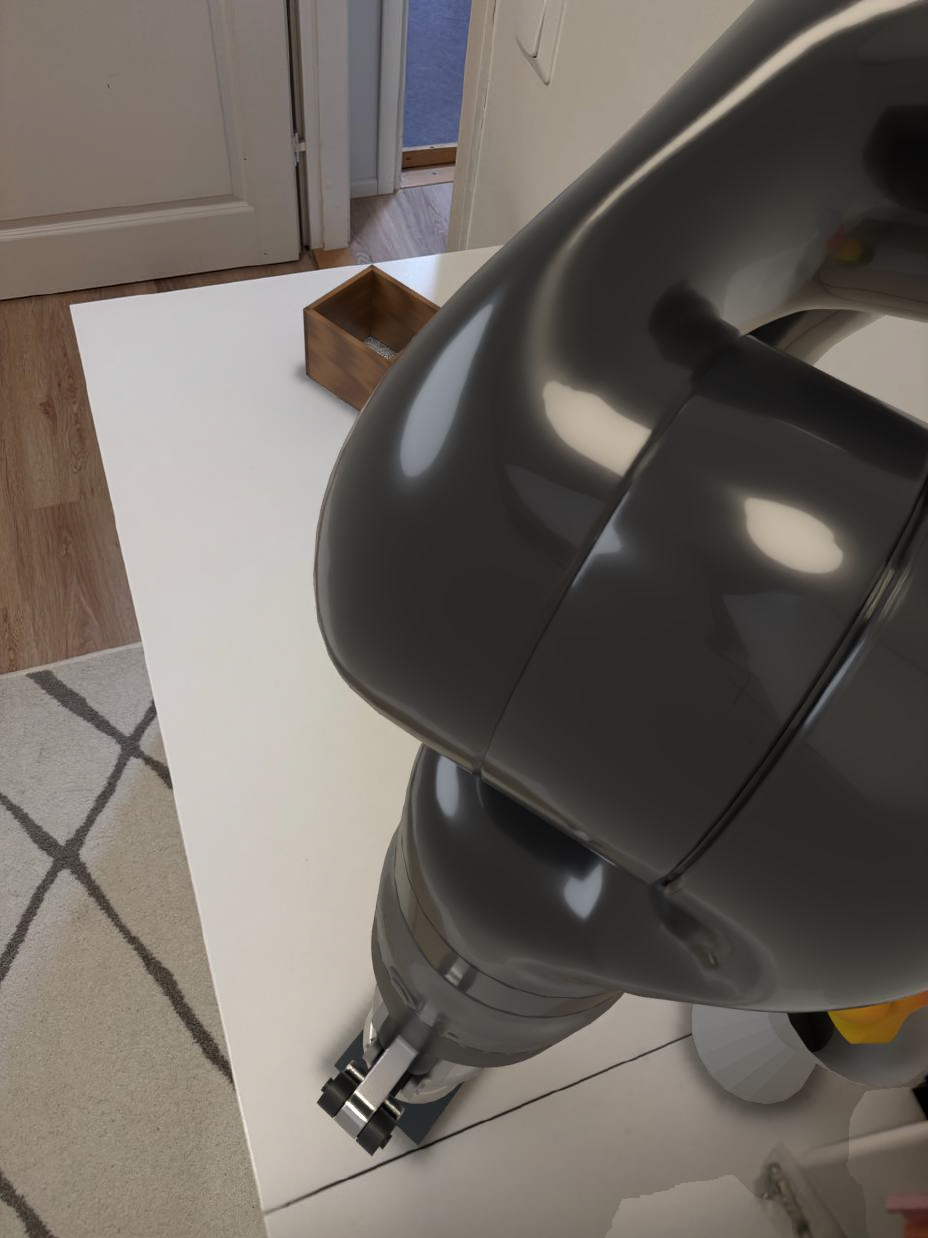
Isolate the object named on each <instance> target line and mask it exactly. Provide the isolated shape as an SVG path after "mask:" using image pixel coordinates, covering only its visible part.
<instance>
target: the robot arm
mask: <svg viewBox="0 0 928 1238" xmlns="http://www.w3.org/2000/svg"><path fill="white" fill-rule="evenodd" d="M440 307H441V308H440V309H439V310H438V311H437V312H436V314H435V315H434V316H433V317H432V318H431V319H430V320H429V321H428V322H427V323H426V324H425V325H424V326H423V327H422V329H421V330H420V331H419V332H418V333H417V334H416V335H415V336H414V337H413V338H412V339H411V341H410V342H409V343H408V345H407V346H406V347H405V348H404V350H403V351H402V352H401V354H400V355H399V356H398V357H397V359H396V360H395V361H394V363H393V364H392V365H391V367H390V368H389V369H388V371H387V372H386V374H385V375H384V376H383V378H382V379H381V381H380V382H379V384H378V385H377V386H376V388H375V389H374V391H373V392H372V394H371V395H370V397H369V398H368V400H367V402H366V403H365V405H364V406H363V408H362V409H361V411H358V414H357V416H356V418H355V420H354V422H353V423H352V425H351V427H350V428H349V431H348V433H347V435H346V437H345V439H344V440H343V442H342V445H341V447H340V450H339V452H338V454H337V457H336V459H335V462H334V464H333V467H332V470H331V472H330V475H329V478H328V480H327V484H326V488H325V491H324V494H323V498H322V501H321V506H320V510H319V515H318V520H317V524H316V525H317V526H316V529H315V541H314V542H315V543H314V556H313V557H314V558H313V571H312V572H313V573H312V580H313V593H314V602H315V603H314V604H315V612H316V621H317V625H318V627H319V631H320V634H321V637H322V640H323V643H324V646H325V649H326V652H327V656H328V657H329V659H330V661H331V662H332V664H333V666H334V668H335V670H336V671H337V673H338V675H339V676H340V677H341V679H342V680H343V682H345V684H346V685H347V687H348V688H349V689H351V690H352V691H353V692H354V693H355V694H356V695H357V696H358V697H360V699H362V700H363V701H364V702H365V703H366V704H367V705H369V706H370V708H372V710H374V711H375V712H376V713H378V714H379V715H380V716H382V717H383V718H384V719H386V720H388V721H389V722H391V723H392V724H393V725H395V726H396V727H398V728H399V729H401V730H402V731H404V732H405V733H407V734H409V735H410V736H412V737H413V738H414V739H416V740H418V741H419V742H421V743H420V745H419V747H418V750H417V752H416V755H415V756H414V757H415V758H414V761H413V763H412V767H411V770H410V775H409V778H408V782H407V786H406V790H405V797H404V803H403V807H402V812H401V816H400V821H399V823H398V825H397V827H396V829H395V831H394V833H393V834H392V836H391V839H390V841H389V844H388V847H387V850H386V853H385V856H384V860H383V863H382V864H383V865H382V868H381V872H380V878H379V884H378V891H377V897H376V903H375V911H374V915H373V920H372V921H373V922H372V928H371V936H370V940H371V941H370V952H371V953H370V954H371V963H372V969H373V974H374V978H375V982H376V983H377V985H378V988H379V991H380V994H381V996H382V999H383V1002H382V1003H381V1005H380V1006H379V1008H378V1009H377V1011H376V1013H375V1014H374V1016H373V1017H372V1020H371V1022H372V1026H373V1028H374V1029H375V1031H376V1037H374V1036H373V1037H372V1038H371V1039H370V1041H369V1042H368V1043H367V1045H366V1046H365V1047H366V1048H367V1050H366V1052H365V1053H364V1055H363V1056H362V1058H363V1059H364V1060H365V1061H366V1062H367V1063H368V1064H370V1065H371V1066H370V1068H369V1069H368V1070H367V1071H365V1070H364V1069H363V1068H362V1067H361V1066H360V1065H359V1064H357V1063H356V1062H355V1061H354V1060H352V1061H351V1062H350V1063H349V1064H348V1065H347V1067H346V1068H345V1070H344V1071H341V1072H340V1071H339V1073H338V1074H337V1075H336V1077H335V1078H333V1077H329V1078H328V1079H327V1081H326V1082H325V1083H324V1085H323V1086H322V1087H321V1089H320V1092H321V1093H322V1094H321V1096H320V1097H319V1098H318V1100H317V1101H316V1104H317V1105H318V1106H319V1107H320V1108H321V1109H322V1110H323V1111H324V1112H325V1114H327V1115H328V1116H329V1117H330V1118H331V1119H333V1121H334V1122H335V1123H336V1124H337V1125H339V1127H341V1129H342V1130H344V1132H346V1133H347V1134H348V1135H349V1136H350V1137H351V1138H352V1139H353V1140H355V1142H356V1144H358V1145H359V1146H360V1147H361V1148H362V1149H363V1150H364V1151H365V1152H366V1153H367V1154H368V1155H369V1156H370V1157H373V1156H374V1154H375V1153H376V1152H377V1151H378V1149H379V1148H380V1149H381V1150H382V1151H383V1150H384V1149H385V1147H386V1146H387V1145H388V1143H389V1142H390V1141H391V1139H392V1138H393V1135H392V1133H393V1131H394V1130H395V1129H396V1127H397V1126H396V1122H397V1120H398V1119H399V1118H400V1116H401V1115H402V1114H403V1112H404V1111H405V1108H404V1107H403V1106H402V1105H401V1104H400V1103H399V1102H398V1101H397V1100H396V1099H395V1096H396V1095H397V1094H398V1092H399V1091H400V1090H401V1092H400V1093H401V1094H402V1095H403V1096H404V1097H405V1098H406V1099H407V1100H408V1101H409V1100H410V1099H411V1098H412V1096H413V1095H414V1094H416V1095H417V1096H418V1095H419V1093H420V1092H421V1091H422V1089H423V1088H424V1086H425V1085H426V1084H425V1083H423V1082H424V1081H425V1080H429V1081H431V1082H434V1083H441V1082H442V1081H443V1079H444V1078H445V1077H446V1076H447V1074H448V1073H449V1072H450V1071H451V1069H452V1068H453V1067H454V1066H455V1064H460V1065H465V1066H471V1067H480V1068H484V1069H493V1068H502V1067H503V1068H504V1067H507V1066H512V1065H516V1064H519V1063H522V1062H523V1063H524V1062H525V1061H528V1060H529V1059H532V1058H534V1057H536V1056H538V1055H540V1054H541V1053H544V1052H545V1051H547V1050H548V1049H550V1048H552V1047H554V1046H555V1045H557V1044H559V1043H560V1042H562V1041H563V1040H565V1039H567V1038H569V1037H570V1036H573V1035H574V1034H575V1033H577V1032H579V1031H581V1030H583V1029H584V1028H586V1027H588V1026H590V1025H591V1024H593V1023H594V1022H595V1021H596V1020H598V1019H599V1018H600V1017H601V1016H603V1015H604V1014H606V1013H607V1012H608V1011H609V1010H611V1008H612V1007H614V1005H615V1004H616V1003H617V1002H619V1000H621V998H622V997H623V995H624V994H629V995H632V996H636V997H641V998H644V999H645V998H647V999H654V1000H662V1001H671V1002H677V1003H685V1004H692V1005H694V1004H699V1005H706V1006H714V1007H721V1008H729V1009H737V1010H746V1011H755V1012H771V1013H806V1012H826V1011H840V1010H848V1009H857V1008H865V1007H870V1006H875V1005H879V1004H884V1003H889V1002H893V1001H896V1000H900V999H903V998H907V997H910V996H913V995H917V994H919V993H922V992H925V991H927V990H928V421H927V422H926V421H925V420H923V419H921V418H919V417H916V416H914V415H912V414H910V413H908V412H907V411H905V410H902V409H901V408H899V407H896V406H894V405H892V404H890V403H888V402H886V401H884V400H882V399H880V398H879V397H876V396H874V395H872V394H870V393H868V392H866V391H864V390H862V389H860V388H858V387H857V386H854V385H852V384H851V383H848V382H846V381H843V380H841V379H840V378H838V377H835V376H834V375H832V374H830V373H828V372H826V371H824V370H821V369H819V368H817V367H815V365H816V364H817V363H818V361H819V360H820V359H821V358H822V357H823V356H824V355H825V354H826V353H827V352H829V351H830V350H831V349H832V348H833V347H834V346H836V345H837V344H839V343H841V342H842V341H844V340H845V339H846V338H848V337H850V336H851V335H853V334H854V333H857V332H858V331H860V330H862V329H863V328H865V327H867V326H869V325H871V324H873V323H875V322H876V321H878V320H879V319H881V318H883V317H885V316H889V317H895V318H899V319H903V320H909V321H914V322H919V323H924V324H928V0H753V1H752V2H751V4H749V5H748V7H746V8H745V10H743V12H742V13H741V14H740V15H739V16H738V17H737V18H736V20H735V21H733V23H732V24H731V25H730V26H729V27H728V28H726V30H725V31H724V32H723V33H722V34H721V35H720V36H719V37H718V38H716V40H715V41H714V42H713V43H712V44H711V45H710V46H709V48H707V49H706V50H705V51H704V52H703V54H701V56H700V57H699V58H698V59H696V61H694V63H693V64H692V65H691V66H690V67H689V68H688V69H687V70H686V71H685V72H684V73H683V74H682V76H680V77H679V78H678V80H676V81H675V82H674V83H673V85H671V86H670V87H669V89H667V91H666V92H665V93H664V94H663V95H662V96H661V97H660V98H659V99H658V100H657V101H656V102H655V103H654V104H653V105H652V106H651V107H650V108H649V109H648V110H647V111H646V112H645V113H644V114H643V115H642V116H641V117H640V118H638V120H637V121H636V122H634V123H633V124H632V125H631V126H630V127H629V128H628V129H627V130H626V132H624V133H623V134H622V135H621V136H620V137H619V138H618V139H617V140H616V141H615V142H614V143H613V144H612V145H610V147H609V148H608V149H607V150H606V151H605V152H604V153H602V154H601V155H600V156H599V157H598V159H596V160H595V161H594V162H593V163H592V164H591V165H590V166H589V167H588V168H586V169H585V170H584V171H583V172H582V173H581V174H580V175H579V176H578V177H577V178H576V179H575V180H574V181H572V182H571V183H570V184H569V185H568V186H567V187H566V188H564V189H563V190H562V191H561V192H560V193H559V194H558V195H557V196H556V197H555V198H554V199H553V200H551V201H550V202H549V203H548V204H547V205H546V206H545V207H544V208H543V209H542V210H540V211H539V212H538V213H537V214H536V215H535V216H534V217H533V218H532V219H531V220H530V221H528V223H526V224H525V225H524V226H523V227H522V228H521V229H520V230H519V231H518V232H517V233H515V235H513V236H512V237H511V238H510V239H509V240H508V241H507V242H506V243H505V244H504V245H503V246H502V247H500V248H499V249H498V250H497V251H496V252H495V253H494V254H493V255H492V256H490V258H488V259H487V261H485V262H484V263H483V265H481V266H480V267H479V268H478V269H477V270H476V271H475V272H474V273H473V274H472V275H471V276H470V277H469V278H468V279H467V280H465V282H464V283H462V285H460V287H458V288H457V290H456V291H455V292H454V293H453V294H452V295H451V296H450V297H449V298H448V299H447V300H446V302H444V304H443V305H442V306H440ZM372 1063H373V1064H372Z"/></svg>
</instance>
